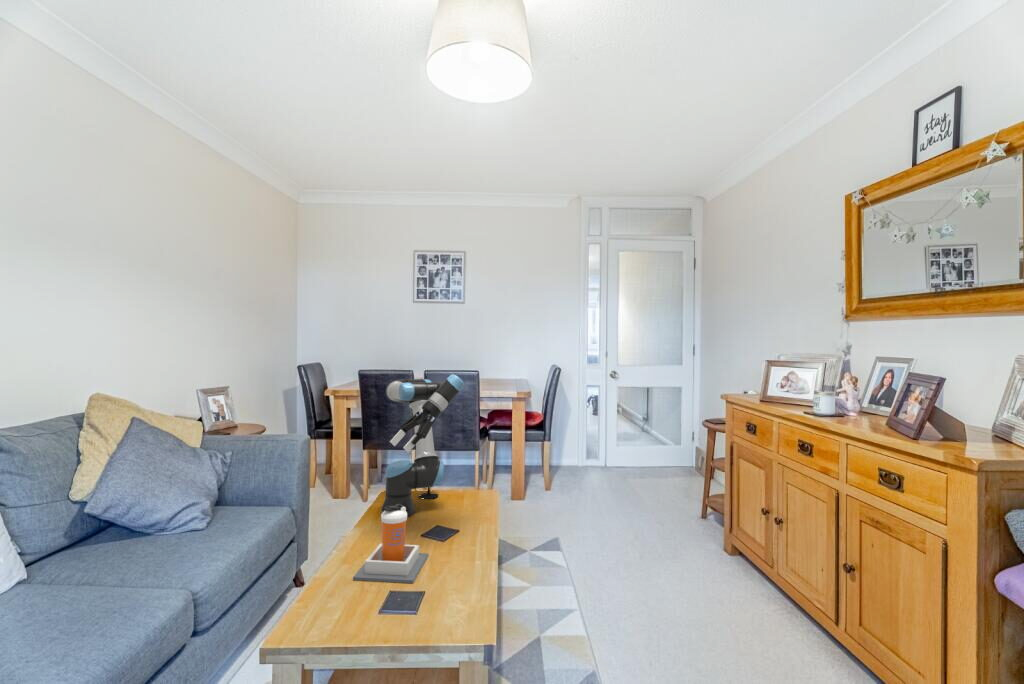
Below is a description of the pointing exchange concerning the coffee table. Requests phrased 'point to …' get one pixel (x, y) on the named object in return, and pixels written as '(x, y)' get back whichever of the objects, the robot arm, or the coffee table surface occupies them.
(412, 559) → the holder
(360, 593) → the coffee table surface
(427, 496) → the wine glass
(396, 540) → the shaker bottle
